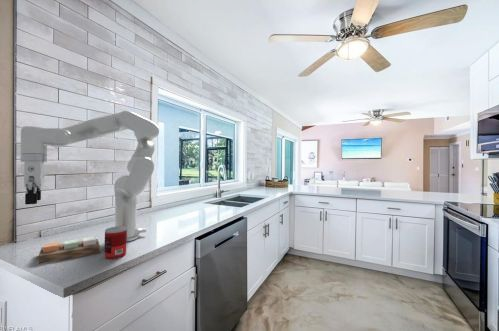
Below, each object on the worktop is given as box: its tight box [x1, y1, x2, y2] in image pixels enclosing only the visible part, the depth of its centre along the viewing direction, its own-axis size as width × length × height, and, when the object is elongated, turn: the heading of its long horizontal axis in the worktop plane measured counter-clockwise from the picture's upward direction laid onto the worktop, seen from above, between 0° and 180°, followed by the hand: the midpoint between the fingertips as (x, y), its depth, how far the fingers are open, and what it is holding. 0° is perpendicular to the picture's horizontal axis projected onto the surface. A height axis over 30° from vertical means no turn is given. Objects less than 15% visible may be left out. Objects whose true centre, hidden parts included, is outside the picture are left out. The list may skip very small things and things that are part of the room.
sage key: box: [63, 238, 79, 249], centre depth 94 cm, size 5×5×3 cm
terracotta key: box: [42, 241, 60, 253], centre depth 90 cm, size 5×5×3 cm
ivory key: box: [82, 236, 97, 246], centre depth 98 cm, size 5×5×3 cm
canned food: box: [103, 226, 128, 260], centre depth 93 cm, size 8×8×11 cm
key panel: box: [37, 238, 101, 265], centre depth 94 cm, size 19×11×3 cm, turn 128°
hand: (33, 202), depth 89 cm, fingers open, 9 cm apart
